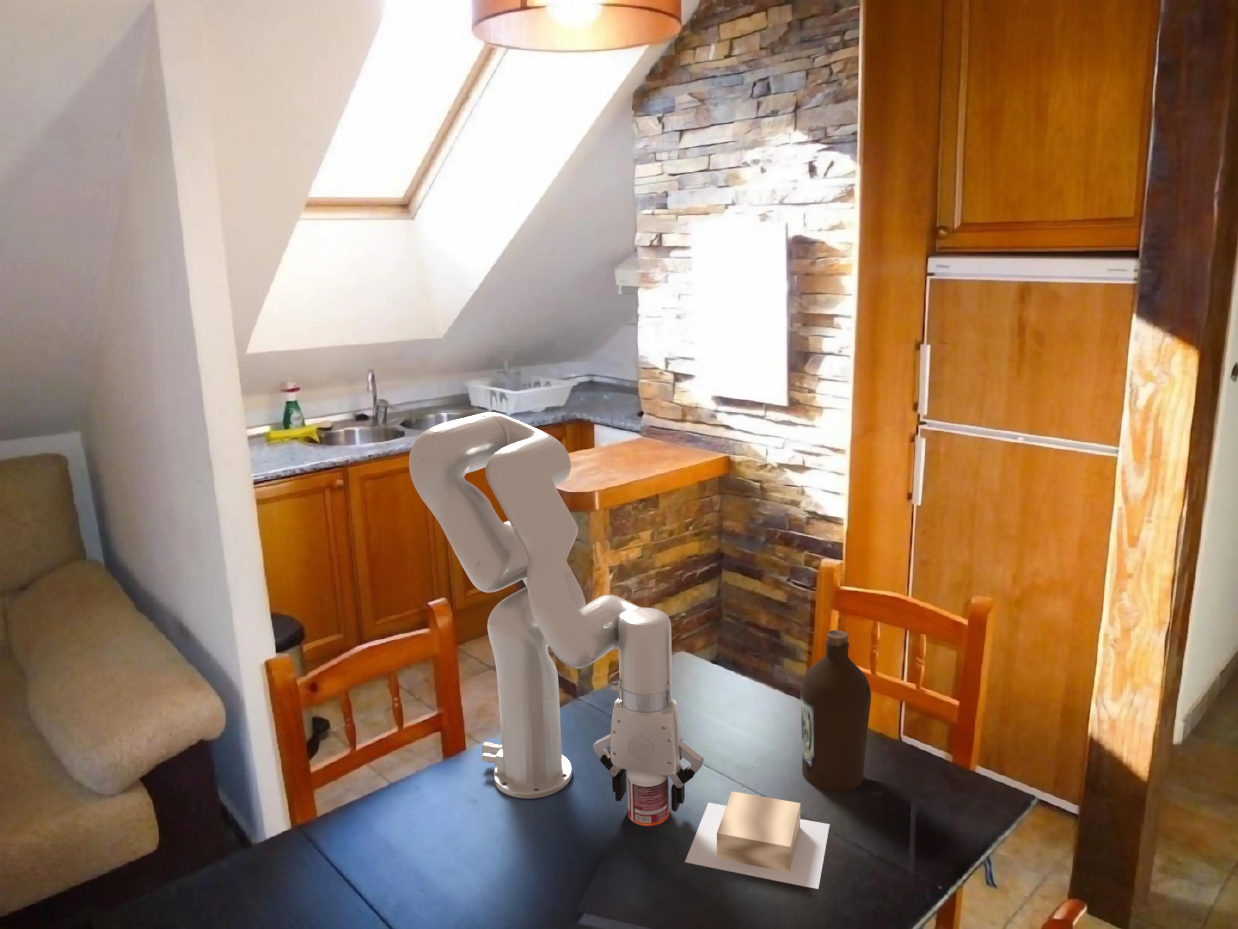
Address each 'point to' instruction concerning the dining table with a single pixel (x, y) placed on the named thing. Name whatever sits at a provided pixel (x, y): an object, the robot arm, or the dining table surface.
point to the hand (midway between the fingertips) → (648, 800)
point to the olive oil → (834, 719)
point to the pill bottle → (647, 798)
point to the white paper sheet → (801, 873)
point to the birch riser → (759, 831)
